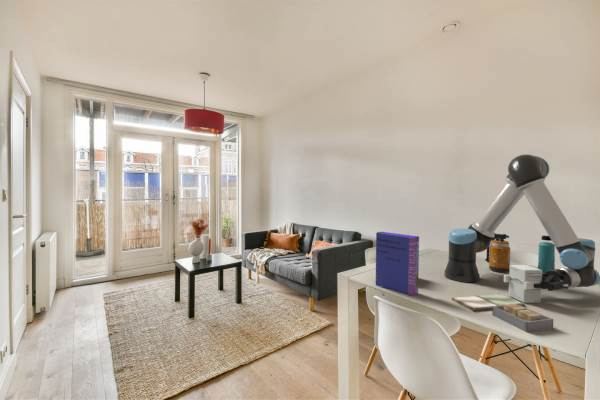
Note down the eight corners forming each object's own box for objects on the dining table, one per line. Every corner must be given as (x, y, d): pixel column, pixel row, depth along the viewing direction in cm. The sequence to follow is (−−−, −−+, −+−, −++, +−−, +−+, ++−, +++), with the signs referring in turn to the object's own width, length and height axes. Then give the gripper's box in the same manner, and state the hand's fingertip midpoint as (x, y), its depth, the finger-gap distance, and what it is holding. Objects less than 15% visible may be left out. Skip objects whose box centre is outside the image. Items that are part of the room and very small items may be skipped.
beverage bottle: (557, 277, 141) (559, 237, 140) (542, 276, 142) (543, 236, 142) (549, 273, 147) (550, 235, 147) (534, 272, 149) (535, 234, 148)
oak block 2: (517, 322, 92) (517, 310, 92) (527, 321, 93) (528, 309, 93) (529, 328, 88) (530, 316, 88) (540, 327, 89) (540, 314, 89)
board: (451, 300, 111) (451, 297, 111) (498, 296, 116) (498, 293, 116) (474, 313, 101) (474, 308, 100) (525, 307, 105) (525, 303, 105)
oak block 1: (503, 316, 97) (503, 304, 97) (513, 315, 98) (513, 303, 98) (514, 321, 93) (515, 309, 93) (524, 320, 94) (525, 308, 94)
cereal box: (418, 293, 120) (419, 236, 119) (412, 296, 116) (413, 237, 115) (381, 282, 133) (382, 231, 132) (375, 285, 129) (376, 232, 129)
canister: (510, 274, 146) (511, 235, 146) (484, 270, 152) (485, 233, 151) (508, 269, 154) (509, 232, 153) (484, 266, 160) (485, 231, 159)
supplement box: (507, 295, 115) (508, 264, 114) (524, 295, 116) (526, 264, 115) (523, 303, 108) (524, 270, 107) (541, 302, 108) (543, 269, 108)
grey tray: (492, 316, 98) (492, 306, 98) (516, 313, 100) (516, 303, 100) (526, 333, 86) (526, 322, 86) (553, 330, 88) (553, 319, 88)
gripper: (591, 297, 105) (541, 302, 100) (535, 279, 125) (491, 282, 121) (592, 277, 105) (542, 281, 100) (535, 262, 125) (491, 265, 120)
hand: (514, 282), depth 110 cm, fingers closed on supplement box, 8 cm apart
